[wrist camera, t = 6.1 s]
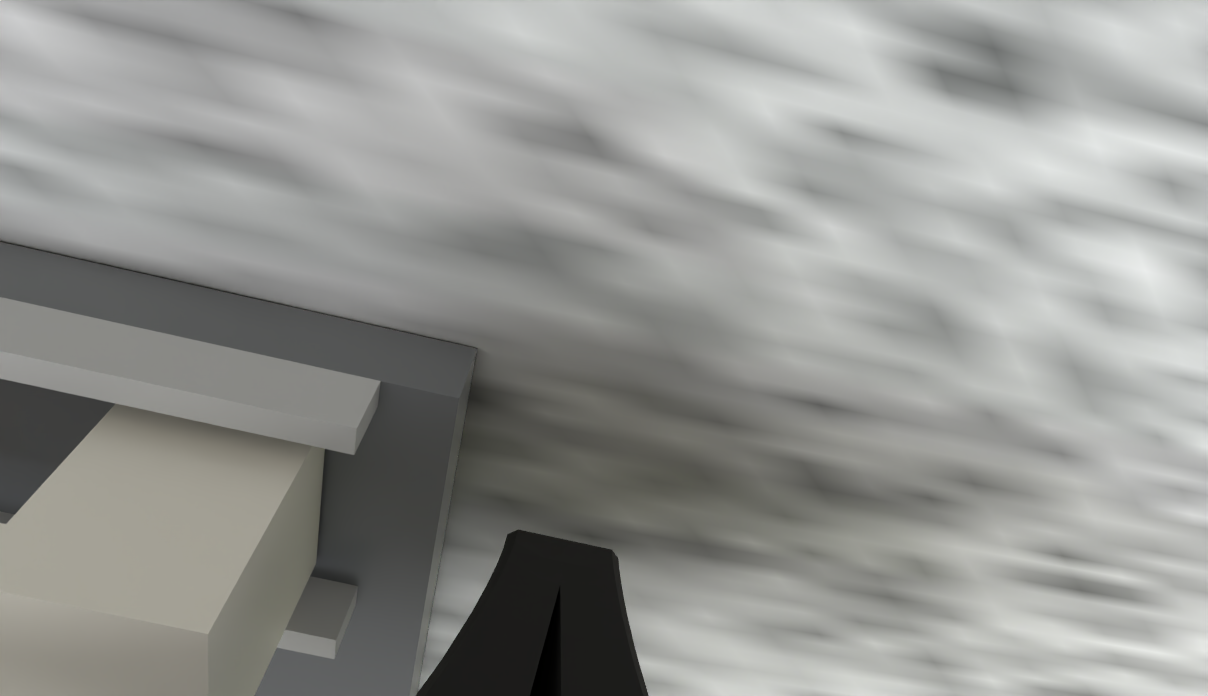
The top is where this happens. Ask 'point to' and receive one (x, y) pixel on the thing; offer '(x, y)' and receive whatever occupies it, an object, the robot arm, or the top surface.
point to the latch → (158, 561)
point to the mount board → (262, 406)
